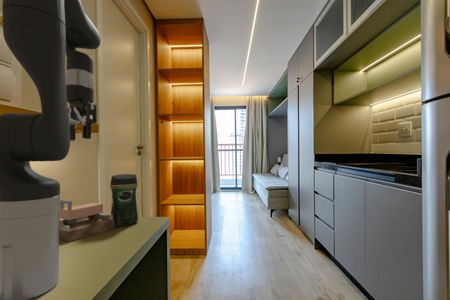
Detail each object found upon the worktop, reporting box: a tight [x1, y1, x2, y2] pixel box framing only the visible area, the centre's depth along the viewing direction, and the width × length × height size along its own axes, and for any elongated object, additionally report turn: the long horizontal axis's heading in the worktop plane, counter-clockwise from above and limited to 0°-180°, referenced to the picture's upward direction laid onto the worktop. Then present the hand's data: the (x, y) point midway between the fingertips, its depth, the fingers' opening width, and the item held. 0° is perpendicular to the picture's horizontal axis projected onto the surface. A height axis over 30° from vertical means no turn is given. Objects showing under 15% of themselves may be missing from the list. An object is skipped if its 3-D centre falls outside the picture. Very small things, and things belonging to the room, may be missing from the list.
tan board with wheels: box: [60, 199, 104, 226], centre depth 77 cm, size 11×6×8 cm, turn 151°
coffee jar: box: [109, 173, 139, 227], centre depth 86 cm, size 10×8×19 cm
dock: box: [59, 213, 115, 243], centre depth 77 cm, size 15×12×4 cm
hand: (78, 139), depth 69 cm, fingers open, 8 cm apart
